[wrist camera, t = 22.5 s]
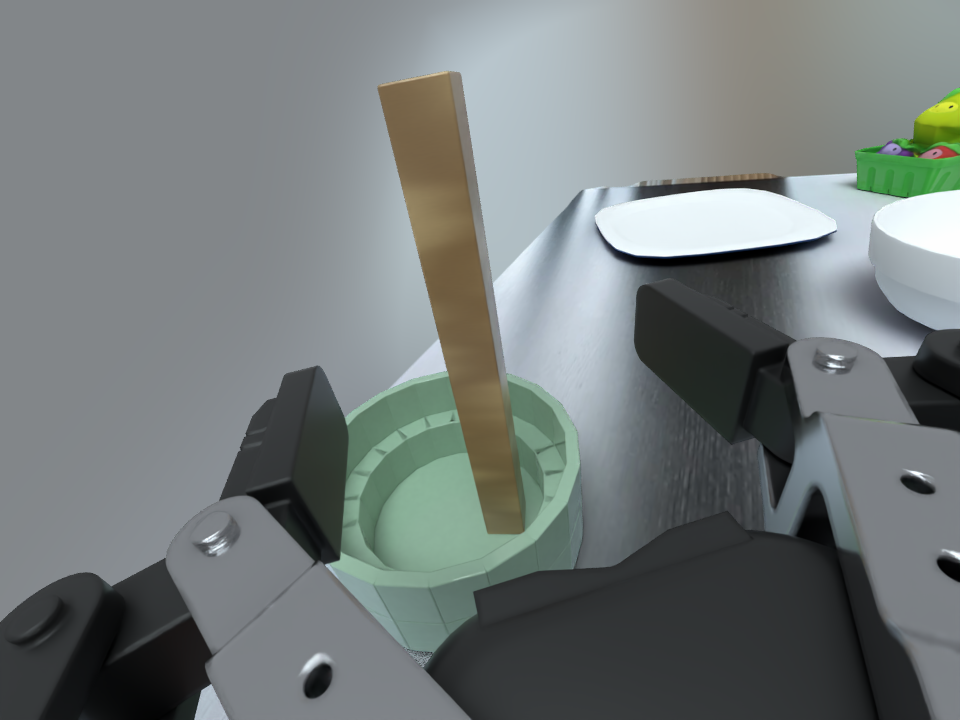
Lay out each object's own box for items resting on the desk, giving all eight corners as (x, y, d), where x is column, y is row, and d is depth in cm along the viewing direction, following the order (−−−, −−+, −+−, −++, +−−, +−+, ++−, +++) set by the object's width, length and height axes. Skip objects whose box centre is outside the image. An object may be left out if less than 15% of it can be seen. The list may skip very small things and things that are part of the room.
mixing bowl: (300, 647, 19) (239, 578, 16) (388, 441, 30) (363, 375, 27) (594, 672, 16) (593, 596, 13) (574, 437, 27) (571, 363, 24)
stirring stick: (487, 534, 22) (375, 84, 11) (490, 502, 23) (397, 84, 12) (524, 535, 21) (449, 70, 10) (525, 502, 23) (461, 71, 12)
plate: (586, 216, 68) (586, 206, 67) (751, 193, 64) (754, 182, 63) (619, 276, 47) (620, 261, 46) (867, 246, 43) (873, 230, 42)
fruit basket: (839, 189, 60) (867, 98, 53) (896, 177, 60) (930, 85, 54) (922, 205, 50) (968, 96, 44) (989, 191, 50) (1043, 81, 44)
